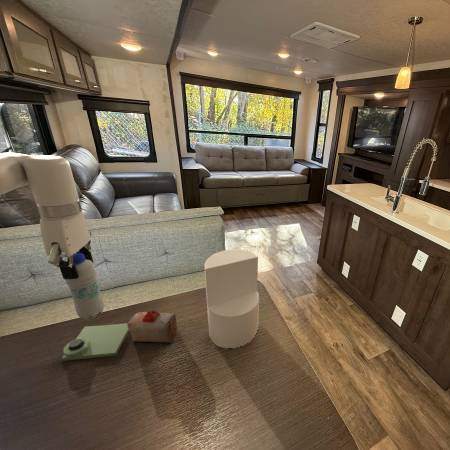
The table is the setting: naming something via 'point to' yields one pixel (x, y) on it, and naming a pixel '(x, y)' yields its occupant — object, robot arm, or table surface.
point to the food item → (153, 327)
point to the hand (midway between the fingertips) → (79, 270)
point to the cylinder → (232, 297)
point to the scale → (98, 342)
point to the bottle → (85, 288)
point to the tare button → (76, 344)
